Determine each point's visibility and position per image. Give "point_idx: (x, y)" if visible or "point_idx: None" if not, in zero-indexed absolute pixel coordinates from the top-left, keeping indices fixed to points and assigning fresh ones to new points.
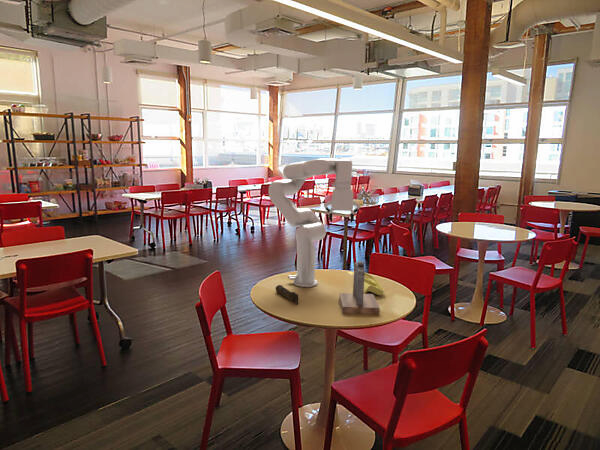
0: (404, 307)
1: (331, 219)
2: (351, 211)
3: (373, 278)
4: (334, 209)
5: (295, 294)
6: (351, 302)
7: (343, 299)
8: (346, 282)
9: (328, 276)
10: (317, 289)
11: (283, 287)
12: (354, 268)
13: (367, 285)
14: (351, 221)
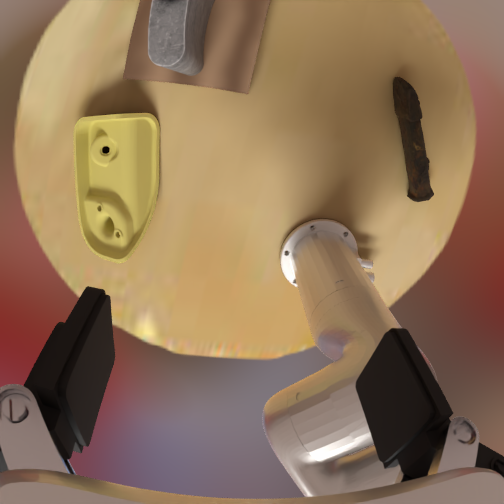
0: (60, 26)
1: (411, 348)
2: (42, 451)
3: (85, 231)
4: (476, 471)
5: (412, 93)
6: (232, 3)
7: (253, 32)
8: (176, 252)
9: (224, 308)
10: (296, 195)
11: (419, 181)
12: (189, 50)
13: (118, 162)
14: (95, 296)
